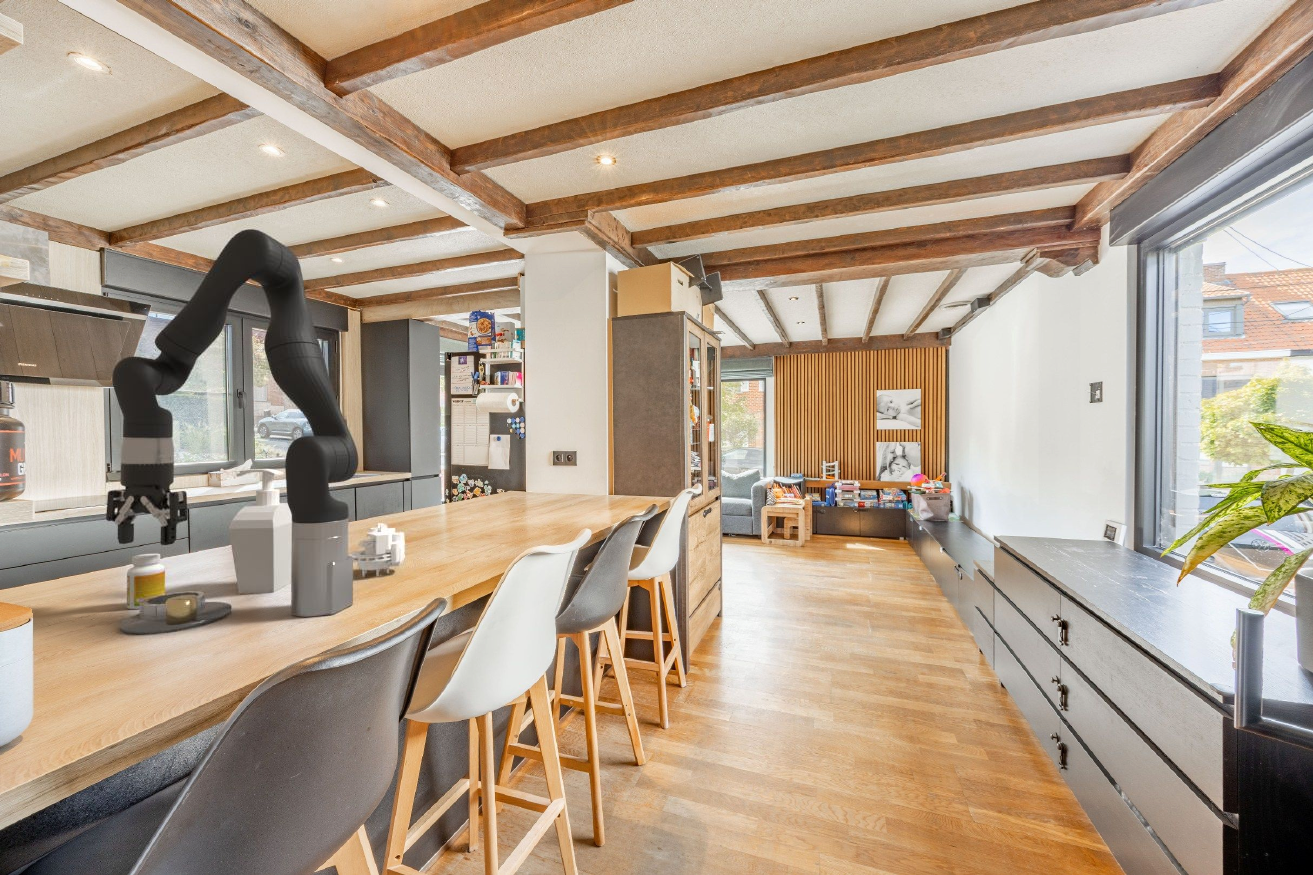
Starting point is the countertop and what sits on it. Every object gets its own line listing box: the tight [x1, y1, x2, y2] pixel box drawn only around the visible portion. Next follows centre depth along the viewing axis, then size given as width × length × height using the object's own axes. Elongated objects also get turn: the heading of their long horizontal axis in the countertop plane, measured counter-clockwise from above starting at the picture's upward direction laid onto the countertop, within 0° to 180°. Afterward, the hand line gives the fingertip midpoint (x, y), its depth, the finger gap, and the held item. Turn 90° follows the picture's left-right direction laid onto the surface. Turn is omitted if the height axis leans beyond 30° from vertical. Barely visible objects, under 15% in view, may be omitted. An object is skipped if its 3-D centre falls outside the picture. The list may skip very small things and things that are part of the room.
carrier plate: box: [119, 590, 233, 636], centre depth 96 cm, size 15×15×5 cm
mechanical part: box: [348, 522, 406, 578], centre depth 128 cm, size 11×12×12 cm
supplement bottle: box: [126, 553, 166, 610], centre depth 104 cm, size 5×5×10 cm
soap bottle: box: [228, 468, 292, 594], centre depth 116 cm, size 12×10×26 cm
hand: (146, 543), depth 104 cm, fingers open, 8 cm apart
